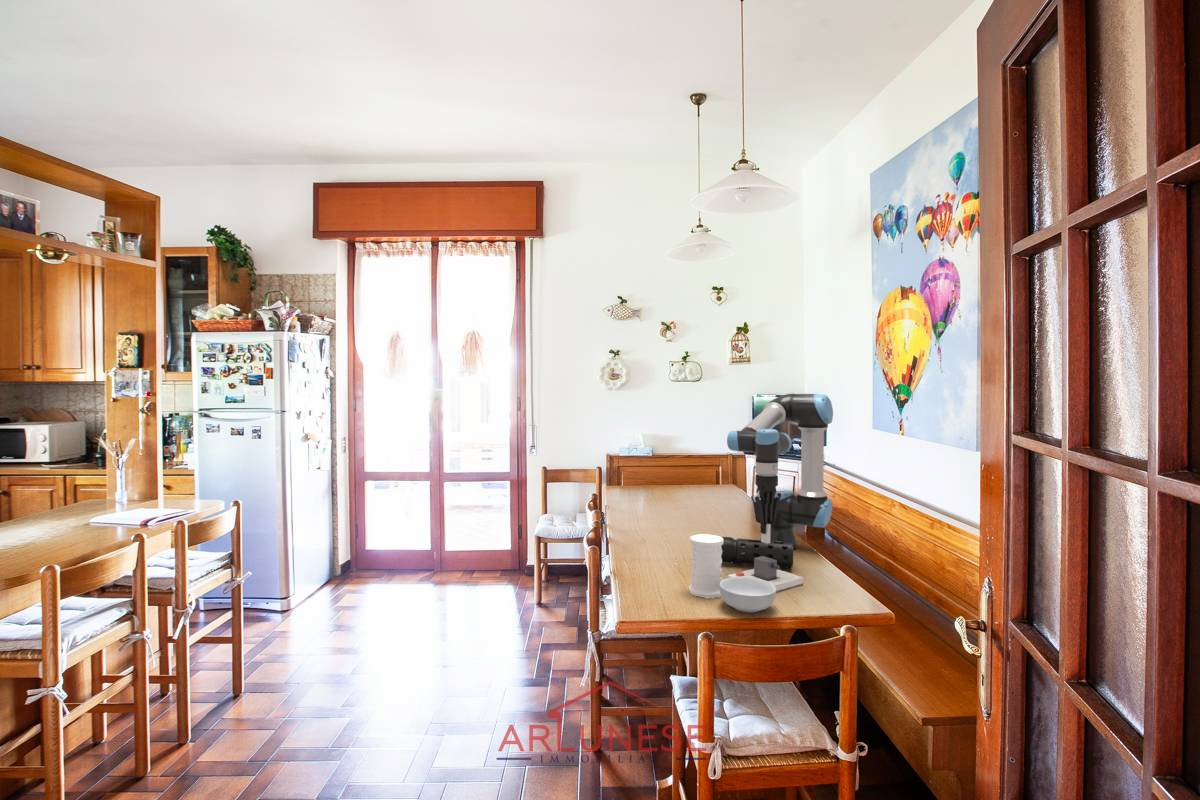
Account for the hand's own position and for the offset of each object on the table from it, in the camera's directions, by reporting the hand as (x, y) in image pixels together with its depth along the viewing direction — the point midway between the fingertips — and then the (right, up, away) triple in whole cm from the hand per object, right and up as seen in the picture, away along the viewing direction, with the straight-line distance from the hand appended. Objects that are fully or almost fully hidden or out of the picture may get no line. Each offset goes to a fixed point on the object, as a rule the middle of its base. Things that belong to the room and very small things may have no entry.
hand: (765, 542), depth 208 cm
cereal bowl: (-12, -15, -22) cm, 29 cm away
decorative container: (-22, -15, -8) cm, 28 cm away
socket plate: (0, -14, +1) cm, 14 cm away
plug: (+1, -14, 0) cm, 14 cm away
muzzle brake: (+1, -14, +21) cm, 25 cm away
